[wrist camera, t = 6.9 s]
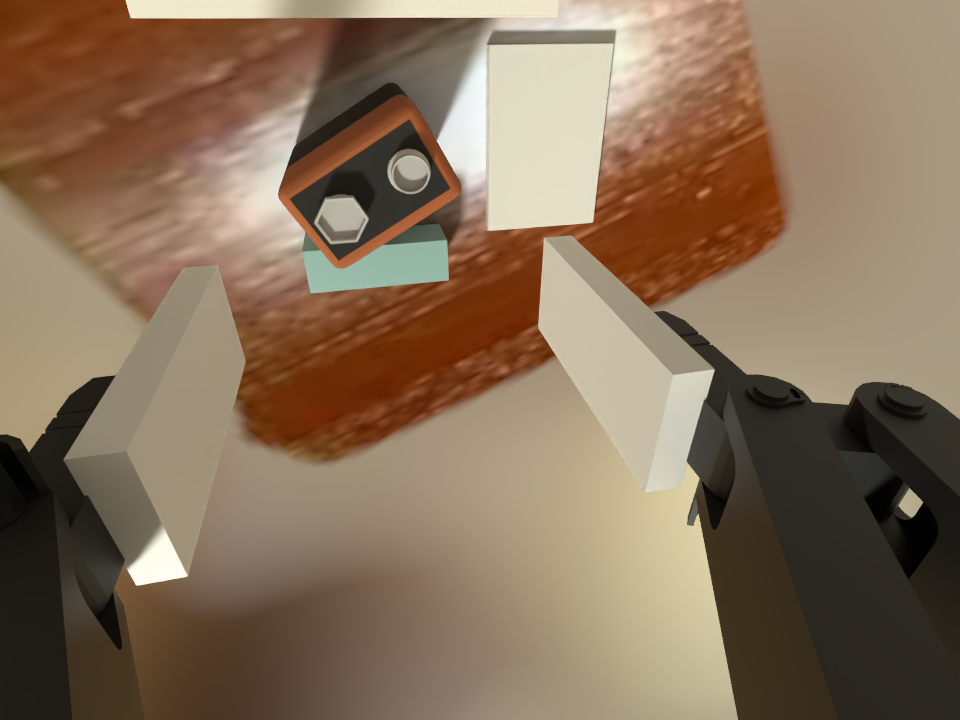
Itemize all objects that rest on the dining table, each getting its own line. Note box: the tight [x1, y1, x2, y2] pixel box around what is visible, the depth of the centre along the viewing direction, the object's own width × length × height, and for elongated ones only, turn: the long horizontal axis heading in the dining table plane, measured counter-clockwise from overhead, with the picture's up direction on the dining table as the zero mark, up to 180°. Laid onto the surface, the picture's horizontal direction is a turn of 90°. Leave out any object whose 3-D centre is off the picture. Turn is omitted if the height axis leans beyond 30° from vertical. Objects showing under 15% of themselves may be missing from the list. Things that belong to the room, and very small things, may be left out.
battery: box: [278, 83, 461, 269], centre depth 26 cm, size 4×7×10 cm, turn 119°
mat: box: [486, 43, 614, 231], centre depth 31 cm, size 10×7×1 cm
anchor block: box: [302, 224, 449, 293], centre depth 31 cm, size 2×8×3 cm, turn 90°
